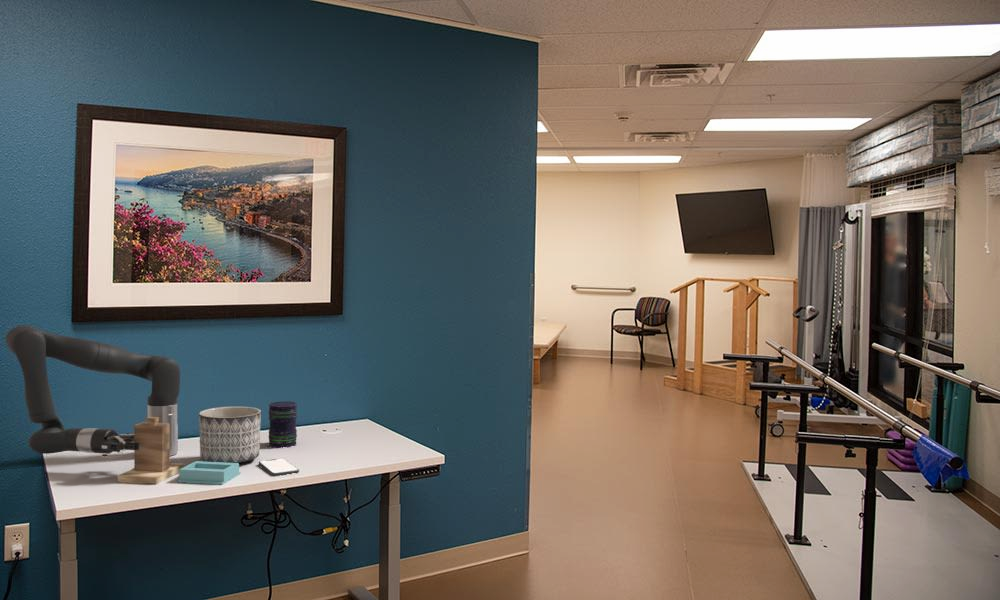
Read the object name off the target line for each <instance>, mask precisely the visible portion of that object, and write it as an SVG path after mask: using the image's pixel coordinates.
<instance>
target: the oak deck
mask: <svg viewBox="0 0 1000 600" xmlns="http://www.w3.org/2000/svg"><path fill="white" fill-rule="evenodd" d="M183 467H185V463H179V462H178V463H176V462H174V463H173V462H169V469H167V470H165V471H163V472H154V471H135V470H134V468H132V469H129V470H127V471H125V472H122V473H120V474H118V475H117V482H118V483H126V482H127V484H142V483H149V484H148V485H157V483H158V484H160V483H161V481H162V482H164V481H165V480H164V479H166V480H167V479H169V478H171V477H174V476H175V475H177V474H179V469H181V468H183ZM163 480H164V481H163ZM159 482H160V483H159ZM150 483H151V484H150Z"/></svg>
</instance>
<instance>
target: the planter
mask: <svg viewBox="0 0 1000 600" xmlns="http://www.w3.org/2000/svg"><path fill="white" fill-rule="evenodd" d="M261 414H262V410H261V409H259V408H257V407H251V406H221V407H213V408H207V409H204V410H201V411H200V412H199V413H198V421H199V422H198V423H199V426H198V427H199V455H200V460H201V461H204V462H224V463H240V464H243V463H242V462H244V463H245V462H248V461H252V460H255V459H257V458H258V457H259V456H260V449H261V448H260V447H261V445H260V444H261V422H262V420H261V419H262V415H261Z"/></svg>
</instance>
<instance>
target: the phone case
mask: <svg viewBox="0 0 1000 600" xmlns="http://www.w3.org/2000/svg"><path fill="white" fill-rule="evenodd" d="M258 466H259V467H260V468H261V467H262V468H263V469H262V468H261V469H262V470H264V471H265V472H266V471H267V472H266V473H268V474H269V475H270V476H272V477H281V476H288V475H287V474H289V475H293V474H292V473H296V474H299V473H300V469H299V468H297V466H295V465H293V464H292V463H291V462H289V461H288V460H287V459H285V458H282V457H281V458H273V459H266V460H260V461H259V462H258ZM298 472H299V473H298ZM280 475H281V476H280Z"/></svg>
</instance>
